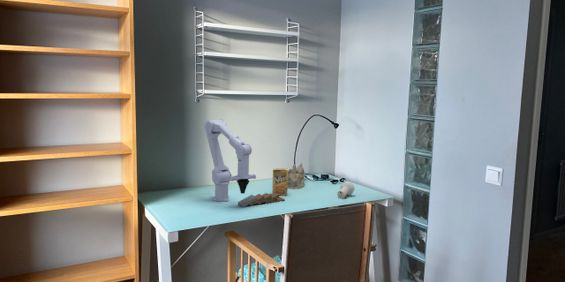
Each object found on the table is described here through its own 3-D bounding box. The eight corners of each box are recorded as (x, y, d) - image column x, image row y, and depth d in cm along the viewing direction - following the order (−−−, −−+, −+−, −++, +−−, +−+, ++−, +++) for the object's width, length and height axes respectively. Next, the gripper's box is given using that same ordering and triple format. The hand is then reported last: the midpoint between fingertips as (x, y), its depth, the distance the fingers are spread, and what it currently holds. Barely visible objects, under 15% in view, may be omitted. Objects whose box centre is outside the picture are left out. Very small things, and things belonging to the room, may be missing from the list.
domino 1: (242, 204, 219) (256, 196, 224) (237, 202, 223) (251, 194, 228) (243, 207, 220) (257, 199, 224) (238, 204, 224) (252, 197, 228)
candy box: (272, 195, 245) (273, 169, 243) (272, 193, 249) (272, 167, 247) (287, 195, 245) (288, 169, 243) (287, 193, 250) (288, 168, 247)
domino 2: (250, 203, 222) (263, 195, 226) (245, 201, 226) (259, 193, 230) (250, 206, 222) (264, 198, 227) (246, 203, 226) (259, 196, 231)
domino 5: (271, 201, 229) (285, 199, 235) (266, 199, 234) (279, 197, 239) (271, 204, 230) (284, 202, 235) (266, 201, 234) (279, 199, 239)
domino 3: (257, 202, 224) (271, 194, 229) (252, 200, 228) (266, 192, 233) (258, 204, 225) (271, 197, 230) (253, 202, 229) (266, 195, 234)
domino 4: (265, 200, 227) (278, 194, 232) (260, 198, 231) (273, 192, 236) (266, 203, 228) (279, 197, 233) (261, 201, 232) (274, 195, 237)
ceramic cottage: (291, 181, 282) (292, 159, 278) (309, 187, 270) (310, 164, 267) (274, 185, 271) (275, 163, 268) (292, 192, 259) (293, 168, 256)
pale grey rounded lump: (356, 193, 251) (353, 180, 250) (348, 201, 242) (345, 188, 241) (343, 193, 256) (341, 181, 254) (336, 201, 247) (333, 188, 245)
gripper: (234, 170, 212) (233, 196, 214) (259, 168, 220) (258, 193, 222) (228, 167, 218) (227, 193, 220) (252, 165, 226) (251, 190, 228)
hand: (242, 193), depth 221 cm, fingers closed
